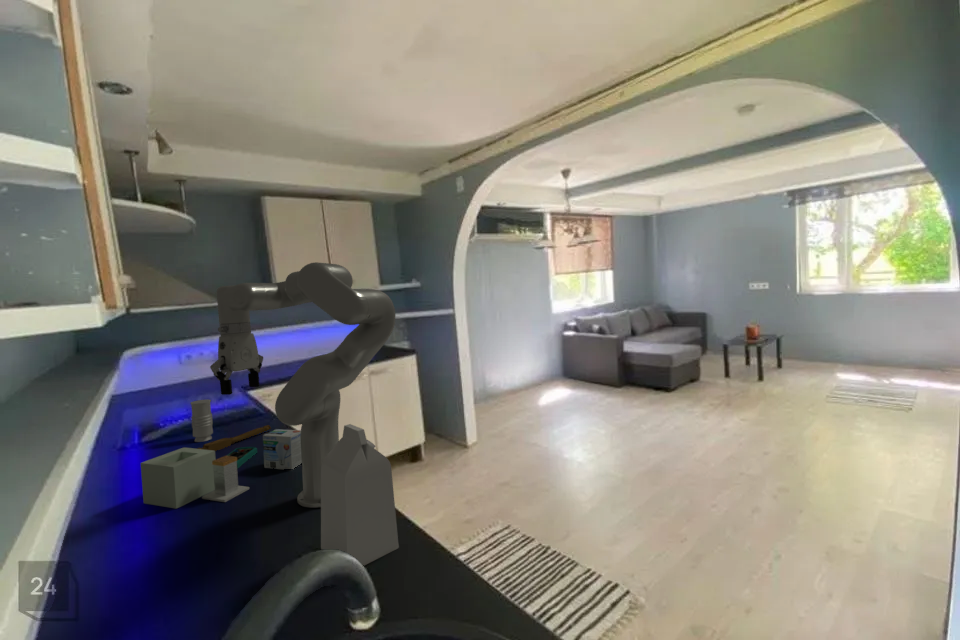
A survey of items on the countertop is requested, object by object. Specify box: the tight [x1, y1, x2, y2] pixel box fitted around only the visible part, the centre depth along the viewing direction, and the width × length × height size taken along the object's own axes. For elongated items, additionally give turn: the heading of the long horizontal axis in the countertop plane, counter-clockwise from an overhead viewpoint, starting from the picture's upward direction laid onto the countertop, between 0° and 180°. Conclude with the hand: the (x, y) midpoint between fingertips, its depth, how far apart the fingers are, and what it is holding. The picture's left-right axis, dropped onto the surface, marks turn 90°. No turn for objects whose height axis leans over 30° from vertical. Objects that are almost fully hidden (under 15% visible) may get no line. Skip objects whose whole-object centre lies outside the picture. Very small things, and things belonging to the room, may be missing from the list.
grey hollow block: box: [140, 447, 217, 510], centre depth 119 cm, size 12×12×11 cm
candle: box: [189, 398, 214, 443], centre depth 168 cm, size 7×7×15 cm
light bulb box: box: [262, 428, 302, 470], centre depth 138 cm, size 11×7×11 cm, turn 76°
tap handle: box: [196, 424, 272, 452], centre depth 163 cm, size 3×3×30 cm
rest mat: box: [201, 485, 250, 503], centre depth 119 cm, size 8×8×1 cm
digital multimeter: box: [226, 446, 258, 470], centre depth 144 cm, size 7×15×3 cm, turn 3°
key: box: [212, 455, 239, 496], centre depth 119 cm, size 4×4×9 cm
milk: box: [320, 423, 400, 566], centre depth 90 cm, size 12×12×26 cm
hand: (241, 390), depth 121 cm, fingers open, 9 cm apart
